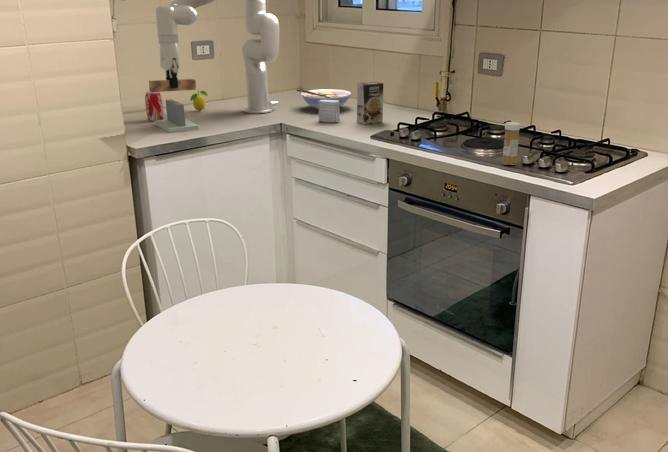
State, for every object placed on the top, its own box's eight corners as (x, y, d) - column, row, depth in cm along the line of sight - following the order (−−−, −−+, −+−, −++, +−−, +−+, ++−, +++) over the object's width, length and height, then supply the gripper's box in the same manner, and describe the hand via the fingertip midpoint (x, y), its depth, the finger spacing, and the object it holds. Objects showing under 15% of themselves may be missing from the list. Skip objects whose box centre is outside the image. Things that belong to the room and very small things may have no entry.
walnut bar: (151, 92, 254) (151, 81, 253) (149, 91, 257) (148, 80, 255) (195, 89, 263) (195, 79, 262) (193, 88, 266) (192, 78, 264)
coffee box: (364, 124, 266) (364, 84, 260) (356, 122, 271) (356, 82, 265) (383, 122, 269) (384, 83, 264) (375, 119, 275) (375, 81, 269)
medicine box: (339, 121, 273) (339, 100, 270) (336, 123, 269) (336, 102, 266) (322, 119, 276) (321, 99, 273) (318, 122, 272) (318, 101, 269)
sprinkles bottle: (499, 163, 208) (502, 121, 204) (512, 162, 209) (516, 121, 204) (505, 167, 204) (509, 124, 199) (519, 166, 205) (523, 124, 200)
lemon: (209, 110, 298) (207, 88, 295) (205, 112, 293) (203, 90, 289) (195, 110, 299) (193, 88, 295) (191, 112, 294) (189, 90, 290)
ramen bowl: (362, 110, 294) (362, 92, 291) (320, 116, 282) (319, 97, 279) (331, 102, 314) (331, 85, 311) (290, 108, 302) (290, 90, 299)
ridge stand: (182, 121, 276) (180, 97, 272) (199, 129, 261) (197, 104, 257) (155, 124, 270) (152, 100, 266) (170, 132, 255) (167, 107, 251)
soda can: (159, 122, 274) (156, 93, 270) (144, 121, 276) (141, 93, 271) (167, 118, 281) (164, 90, 277) (152, 118, 282) (148, 90, 278)
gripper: (152, 38, 258) (156, 85, 264) (165, 41, 245) (170, 90, 251) (170, 37, 262) (174, 84, 268) (184, 40, 249) (188, 89, 255)
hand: (172, 86), depth 260 cm, fingers closed on walnut bar, 3 cm apart
